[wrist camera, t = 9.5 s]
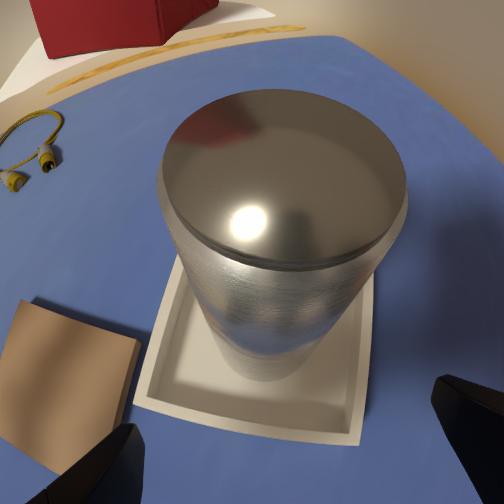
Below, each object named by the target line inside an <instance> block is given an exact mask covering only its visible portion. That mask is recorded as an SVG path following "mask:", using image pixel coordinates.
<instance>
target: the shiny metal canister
mask: <svg viewBox="0 0 504 504" xmlns="http://www.w3.org/2000/svg"><path fill="white" fill-rule="evenodd" d="M157 196H158V200H159V203H160V207H161V210H162V213H163V216H164V218H165V221H166V224H167V226H168V229H169V232H170V234H171V237H172V239H173V242H174V245H175V247H176V250H177V252H178V255H179V257H180V260H181V262H182V265H183V267H184V270H185V272H186V275H187V277H188V280H189V282H190V284H191V287H192V289H193V292H194V294H195V296H196V299H197V301H198V303H199V306H200V308H201V310H202V313H203V315H204V317H205V320H206V322H207V324H208V326H209V329H210V331H211V333H212V335H213V338H214V340H215V342H216V344H217V346H218V349H219V351H220V353H221V355H222V357H223V359H224V361H225V362H226V363H227V365H228V366H229V367H230V368H231V369H232V370H233V371H235V372H236V373H237V374H239V375H240V376H242V377H244V378H247V379H249V380H253V381H258V382H271V381H276V380H280V379H283V378H285V377H287V376H289V375H290V374H292V373H293V372H295V371H296V370H297V369H298V368H299V367H300V366H301V365H302V364H303V362H304V361H305V360H306V359H307V358H308V357H309V355H310V354H311V353H312V352H313V351H314V349H315V348H316V347H317V346H318V345H319V343H320V342H321V341H322V340H323V338H324V337H325V336H326V335H327V333H328V332H329V331H330V330H331V328H332V327H333V326H334V325H335V323H336V322H337V321H338V319H339V318H340V317H341V316H342V314H343V313H344V312H345V310H346V309H347V308H348V306H349V305H350V304H351V302H352V301H353V300H354V298H355V297H356V296H357V294H358V293H359V292H360V290H361V289H362V288H363V286H364V285H365V283H366V282H367V281H368V279H369V278H370V276H371V275H372V274H373V272H374V271H375V269H376V268H377V266H378V265H379V264H380V262H381V261H382V259H383V258H384V256H385V255H386V253H387V252H388V250H389V249H390V247H391V246H392V244H393V243H394V241H395V240H396V238H397V236H398V235H399V233H400V231H401V229H402V227H403V224H404V221H405V218H406V215H407V208H408V190H407V186H406V175H405V171H404V166H403V163H402V161H401V158H400V156H399V154H398V152H397V150H396V149H395V147H394V145H393V144H392V142H391V141H390V140H389V138H388V137H387V136H386V135H385V134H384V133H383V132H382V131H381V130H380V128H379V127H377V126H376V125H375V124H374V123H373V122H372V121H370V120H369V119H368V118H366V117H365V116H363V115H362V114H361V113H359V112H357V111H356V110H354V109H352V108H350V107H348V106H346V105H344V104H342V103H340V102H338V101H335V100H332V99H330V98H327V97H324V96H320V95H317V94H313V93H308V92H303V91H296V90H286V89H262V90H253V91H247V92H241V93H237V94H233V95H230V96H226V97H224V98H221V99H218V100H216V101H214V102H212V103H210V104H207V105H205V106H204V107H202V108H200V109H199V110H197V111H196V112H194V113H193V114H192V115H190V116H189V117H188V118H187V119H186V120H185V121H184V122H183V123H182V124H181V125H180V126H179V127H178V128H177V129H176V131H175V132H174V133H173V135H172V136H171V138H170V140H169V142H168V144H167V146H166V149H165V153H164V156H163V158H162V160H161V163H160V166H159V169H158V176H157Z"/></svg>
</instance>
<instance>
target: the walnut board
mask: <svg viewBox="0 0 504 504" xmlns="http://www.w3.org/2000/svg"><path fill="white" fill-rule="evenodd" d="M141 345H142V344H141V343H140V342H139V341H138V340H136V339H133V338H130V337H126V336H123V335H119V334H116V333H113V332H110V331H107V330H103V329H100V328H97V327H94V326H91V325H88V324H85V323H82V322H79V321H77V320H74V319H71V318H68V317H65V316H63V315H60V314H57V313H54V312H52V311H49V310H46V309H44V308H41V307H39V306H36V305H34V304H31V303H29V302H26V301H24V300H20V303H19V306H18V308H17V311H16V313H15V316H14V319H13V322H12V325H11V327H10V330H9V333H8V336H7V339H6V343H5V346H4V349H3V352H2V356H1V359H0V436H1V437H2V438H4V439H5V440H6V441H8V442H9V443H10V444H12V445H13V446H15V447H16V448H17V449H19V450H20V451H22V452H23V453H25V454H26V455H28V456H29V457H31V458H32V459H34V460H35V461H37V462H39V463H40V464H42V465H43V466H45V467H47V468H48V469H50V470H52V471H53V472H55V473H57V474H59V475H62V474H63V473H64V472H65V471H66V470H68V469H69V468H70V467H71V466H72V465H74V464H75V463H76V462H77V461H78V460H79V459H81V458H82V457H83V456H84V455H85V454H86V453H88V452H89V451H90V450H91V449H92V448H93V447H94V446H96V445H97V444H98V443H99V442H100V441H101V440H103V439H104V438H105V437H106V436H107V435H108V434H109V433H110V432H112V431H113V430H114V429H115V428H116V427H117V426H118V425H120V424H121V420H122V416H123V412H124V408H125V404H126V400H127V396H128V392H129V388H130V384H131V381H132V377H133V373H134V370H135V366H136V362H137V359H138V355H139V352H140V349H141Z"/></svg>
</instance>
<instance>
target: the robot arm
mask: <svg viewBox="0 0 504 504" xmlns="http://www.w3.org/2000/svg"><path fill="white" fill-rule="evenodd" d="M431 404H432V406H433V408H434V410H435V412H436V415H437V417H438V419H439V421H440V424H441V426H442V428H443V430H444V433H445V435H446V437H447V439H448V441H449V442H450V444H451V446H452V448H453V449H454V451H455V453H456V455H457V456H458V458H459V460H460V462H461V463H462V465H463V467H464V469H465V471H466V472H467V474H468V476H469V478H470V480H471V482H472V483H473V485H474V487H475V489H476V491H477V493H478V495H479V497H480V498H481V500H482V502H483V504H504V393H503V392H500V391H497V390H494V389H490V388H487V387H484V386H481V385H478V384H476V383H473V382H470V381H467V380H464V379H461V378H458V377H455V376H452V375H449V374H446V375H443V376H440V377H438V378H437V379H436V381H435V384H434V388H433V391H432V395H431ZM144 456H145V444H144V441H143V438H142V436H141V434H140V431H139V429H138V427H137V425H136V424H135V423H121V424H120V425H118V426H117V427H116V428H115V429H114V430H113V431H112V432H110V433H109V434H108V435H107V436H106V437H105V438H104V439H103V440H101V441H100V442H99V443H98V444H97V445H96V446H94V447H93V448H92V449H91V450H90V451H89V452H88V453H86V454H85V455H84V456H83V457H82V458H81V459H79V460H78V461H77V462H76V463H75V464H74V465H72V466H71V467H70V468H69V469H68V470H66V471H65V472H64V473H63V474H62V475H60V476H59V477H58V478H57V479H56V480H54V481H53V482H52V483H51V484H50V485H48V486H47V487H46V489H43V490H42V491H41V492H40V493H38V494H37V495H36V496H35V497H33V498H32V499H31V500H29V501H28V502H27V503H25V504H140V503H141V497H142V490H143V473H144Z"/></svg>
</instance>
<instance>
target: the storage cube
mask: <svg viewBox="0 0 504 504" xmlns="http://www.w3.org/2000/svg"><path fill="white" fill-rule="evenodd" d="M29 1H30V4H31V8H32V11H33V14H34V18H35V21H36V24H37V27H38V30H39V33H40V36H41V39H42V42H43V45H44V48H45V51H46V54H47V56H48V58H49V59H54V58H58V57H63V56H68V55H74V54H80V53H86V52H94V51H102V50H111V49H123V48H137V47H154V46H162V45H164V44H165V43H166V42H167V41H168V40H169V39H170V38H171V37H172V36H173V35H174V34H175V33H177V32H178V31H180V30H181V29H182V28H184V27H185V26H186V25H188V24H189V23H190V22H192V21H194V20H195V19H196V18H198V17H200V16H201V15H203V14H205V13H207V12H208V11H210V10H212V9H214V8H215V7H217V6H218V3H219V0H29Z"/></svg>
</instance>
